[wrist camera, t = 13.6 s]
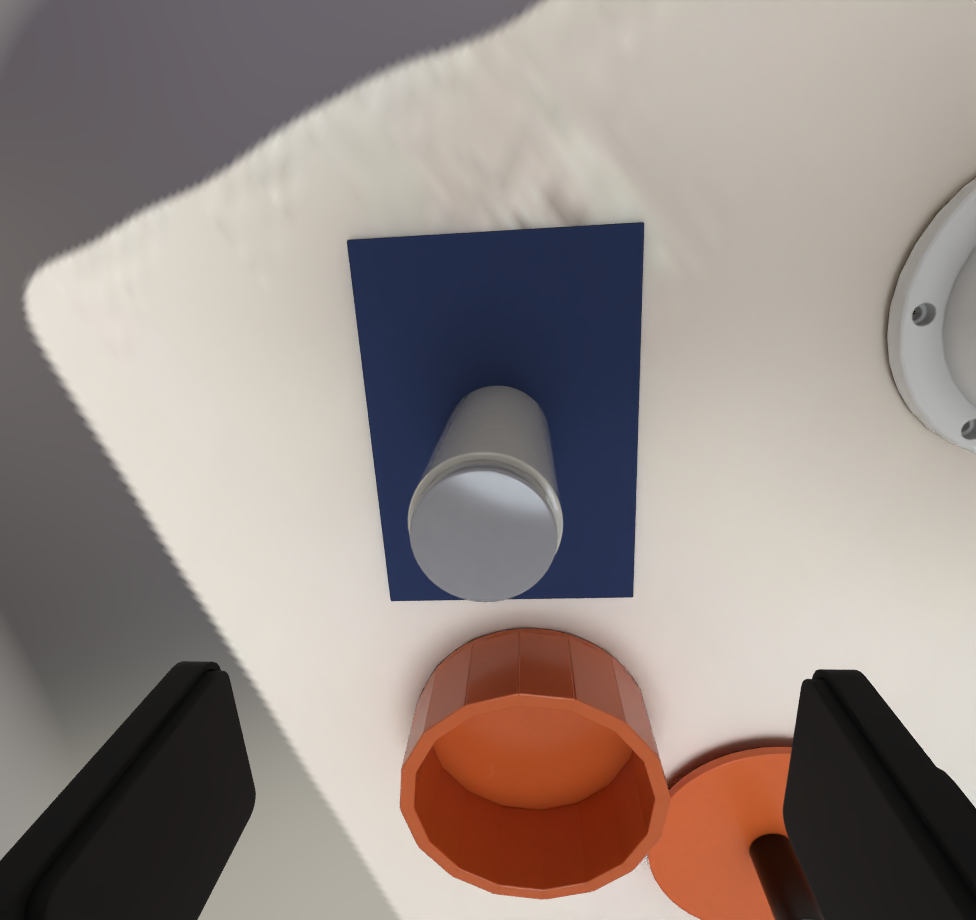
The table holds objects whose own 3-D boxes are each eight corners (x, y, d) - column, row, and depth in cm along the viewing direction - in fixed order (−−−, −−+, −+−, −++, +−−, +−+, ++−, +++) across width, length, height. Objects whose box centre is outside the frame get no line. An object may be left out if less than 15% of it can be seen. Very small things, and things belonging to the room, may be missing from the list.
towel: (349, 240, 24) (346, 239, 24) (642, 222, 23) (644, 222, 23) (392, 597, 30) (390, 601, 29) (631, 593, 29) (633, 597, 28)
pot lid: (732, 699, 30) (775, 790, 25) (940, 799, 32) (1022, 904, 27) (600, 859, 35) (614, 965, 29) (790, 941, 36) (835, 1056, 31)
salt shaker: (474, 366, 25) (445, 432, 15) (568, 415, 26) (595, 508, 16) (430, 456, 27) (376, 567, 17) (519, 500, 27) (517, 633, 17)
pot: (480, 589, 29) (472, 651, 25) (692, 690, 30) (722, 767, 26) (382, 757, 33) (359, 838, 28) (573, 840, 34) (582, 931, 30)
